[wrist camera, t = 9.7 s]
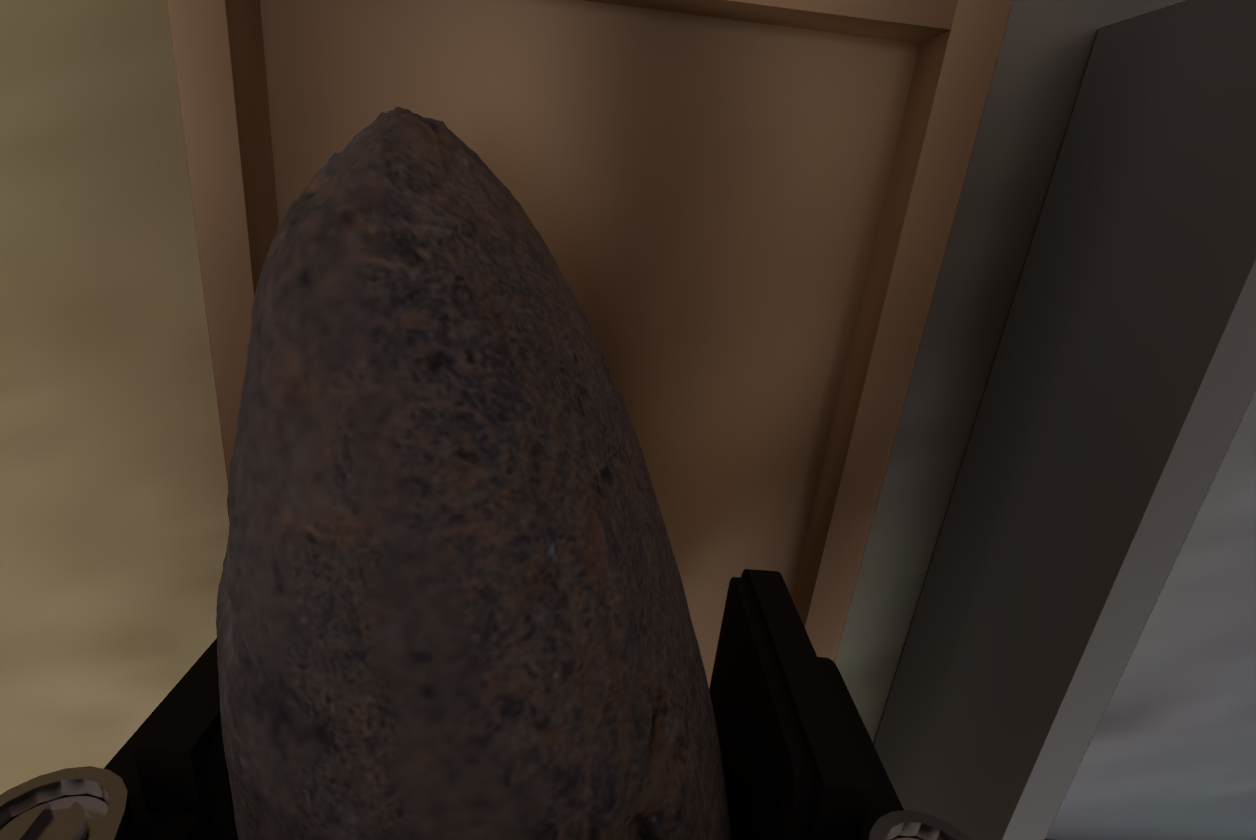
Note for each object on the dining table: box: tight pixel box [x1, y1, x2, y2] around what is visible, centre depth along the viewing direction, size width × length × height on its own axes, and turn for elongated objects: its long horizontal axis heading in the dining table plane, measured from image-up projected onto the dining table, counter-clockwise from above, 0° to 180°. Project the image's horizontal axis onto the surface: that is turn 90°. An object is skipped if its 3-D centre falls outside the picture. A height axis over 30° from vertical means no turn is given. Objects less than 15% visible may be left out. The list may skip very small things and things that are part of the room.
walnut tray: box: [167, 0, 1013, 688], centre depth 13 cm, size 12×21×2 cm, turn 174°
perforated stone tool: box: [216, 107, 732, 840], centre depth 8 cm, size 15×5×7 cm, turn 5°
